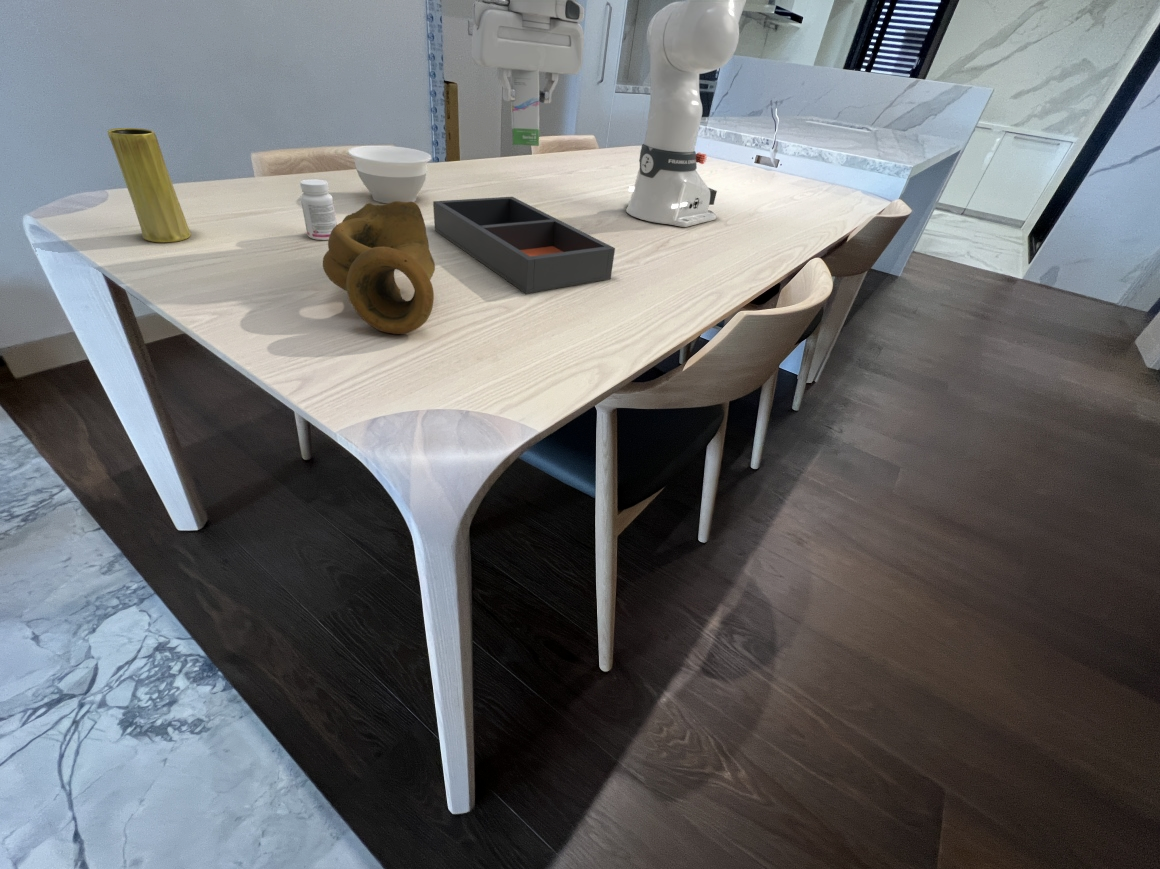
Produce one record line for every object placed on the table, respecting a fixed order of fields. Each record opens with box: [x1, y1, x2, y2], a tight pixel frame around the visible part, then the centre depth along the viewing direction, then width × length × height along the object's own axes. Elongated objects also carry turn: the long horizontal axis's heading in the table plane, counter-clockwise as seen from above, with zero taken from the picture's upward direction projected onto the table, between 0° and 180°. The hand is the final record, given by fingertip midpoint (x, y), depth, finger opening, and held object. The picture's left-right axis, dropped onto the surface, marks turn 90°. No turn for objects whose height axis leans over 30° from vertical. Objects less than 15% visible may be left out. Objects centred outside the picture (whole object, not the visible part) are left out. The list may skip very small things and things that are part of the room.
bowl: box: [347, 145, 432, 204], centre depth 109 cm, size 16×16×8 cm
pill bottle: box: [299, 178, 338, 241], centre depth 86 cm, size 5×5×8 cm
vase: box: [106, 127, 192, 243], centre depth 77 cm, size 6×6×14 cm
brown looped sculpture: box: [322, 201, 436, 335], centre depth 69 cm, size 18×13×22 cm
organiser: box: [432, 196, 616, 295], centre depth 91 cm, size 16×32×5 cm, turn 37°
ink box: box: [510, 69, 540, 147], centre depth 96 cm, size 9×5×12 cm, turn 4°
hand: (527, 102), depth 93 cm, fingers closed on ink box, 6 cm apart
